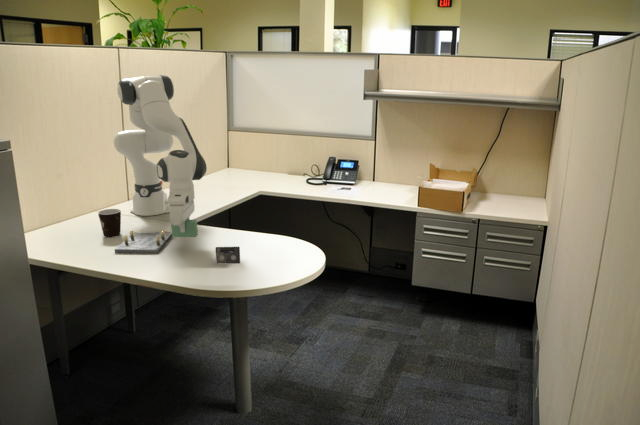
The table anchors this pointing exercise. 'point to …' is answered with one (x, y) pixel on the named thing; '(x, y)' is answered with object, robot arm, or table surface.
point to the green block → (190, 229)
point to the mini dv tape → (227, 255)
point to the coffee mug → (110, 222)
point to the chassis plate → (143, 242)
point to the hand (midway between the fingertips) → (184, 229)
